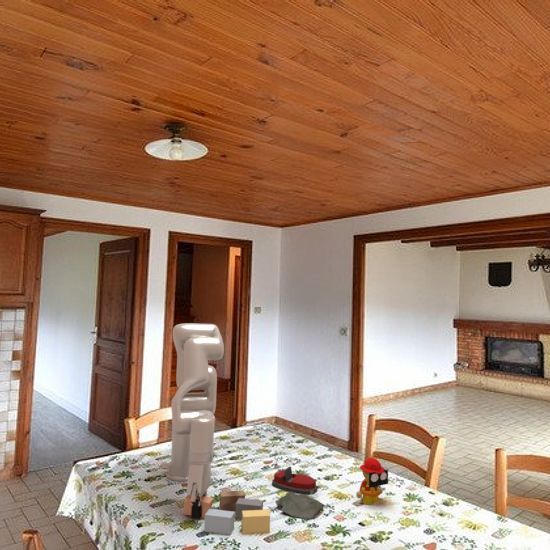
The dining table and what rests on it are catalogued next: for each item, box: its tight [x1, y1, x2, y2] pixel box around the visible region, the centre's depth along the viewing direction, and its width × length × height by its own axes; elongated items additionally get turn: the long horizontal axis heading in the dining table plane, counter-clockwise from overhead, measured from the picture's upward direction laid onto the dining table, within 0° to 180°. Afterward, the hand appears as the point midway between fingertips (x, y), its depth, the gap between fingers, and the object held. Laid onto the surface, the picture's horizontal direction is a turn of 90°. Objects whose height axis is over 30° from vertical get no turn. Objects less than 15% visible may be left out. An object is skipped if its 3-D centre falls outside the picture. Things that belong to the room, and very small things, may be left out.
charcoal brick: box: [234, 498, 264, 521], centre depth 142 cm, size 8×4×5 cm, turn 81°
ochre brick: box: [241, 509, 271, 535], centre depth 134 cm, size 8×4×5 cm, turn 100°
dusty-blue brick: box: [203, 508, 236, 536], centre depth 133 cm, size 8×4×5 cm, turn 80°
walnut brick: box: [218, 490, 246, 512], centre depth 148 cm, size 8×4×5 cm, turn 101°
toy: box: [355, 457, 389, 505], centre depth 156 cm, size 11×9×15 cm
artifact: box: [275, 491, 325, 520], centre depth 149 cm, size 14×4×15 cm
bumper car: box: [269, 454, 318, 496], centre depth 168 cm, size 10×20×10 cm, turn 61°
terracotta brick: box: [182, 493, 214, 520], centre depth 142 cm, size 8×4×5 cm, turn 81°
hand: (198, 514), depth 142 cm, fingers closed on terracotta brick, 3 cm apart
